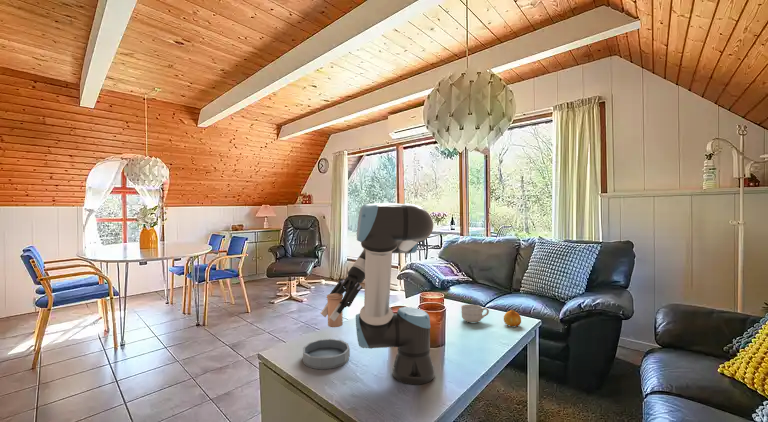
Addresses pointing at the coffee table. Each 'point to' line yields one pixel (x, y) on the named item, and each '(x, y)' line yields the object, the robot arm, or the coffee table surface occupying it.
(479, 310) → the teacup
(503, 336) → the coffee table surface
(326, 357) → the slate bowl
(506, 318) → the fruit
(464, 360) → the coffee table surface
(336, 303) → the terracotta jar
